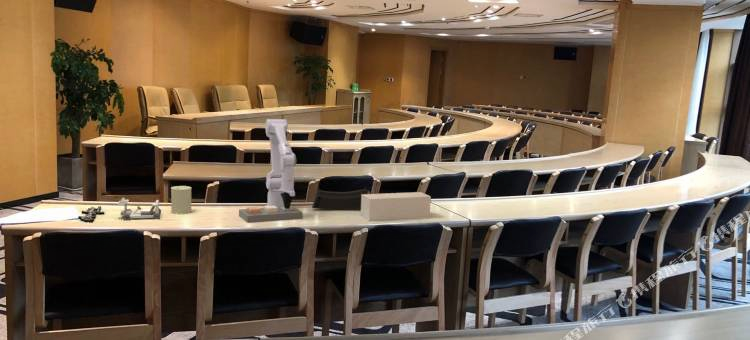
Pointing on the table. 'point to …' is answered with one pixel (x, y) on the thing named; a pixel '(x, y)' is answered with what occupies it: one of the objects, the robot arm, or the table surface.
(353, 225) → the table surface
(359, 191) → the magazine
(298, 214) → the keypad
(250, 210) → the key terracotta
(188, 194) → the can
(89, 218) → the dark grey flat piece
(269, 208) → the key cream
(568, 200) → the table surface
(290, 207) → the key slate
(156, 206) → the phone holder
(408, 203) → the beige rectangular block
